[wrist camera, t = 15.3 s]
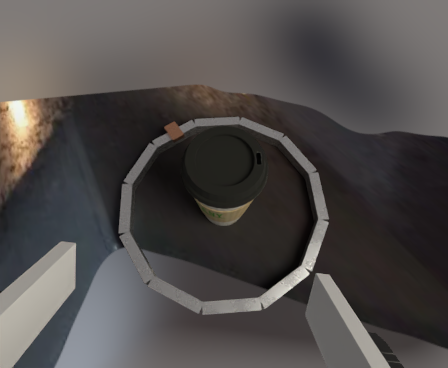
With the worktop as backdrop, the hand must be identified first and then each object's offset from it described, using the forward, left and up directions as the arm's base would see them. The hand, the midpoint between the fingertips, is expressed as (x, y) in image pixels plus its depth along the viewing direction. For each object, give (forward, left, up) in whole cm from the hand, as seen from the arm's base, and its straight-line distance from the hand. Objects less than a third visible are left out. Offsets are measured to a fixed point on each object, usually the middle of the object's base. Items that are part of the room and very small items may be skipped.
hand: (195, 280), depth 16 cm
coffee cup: (-10, +9, -26) cm, 29 cm away
